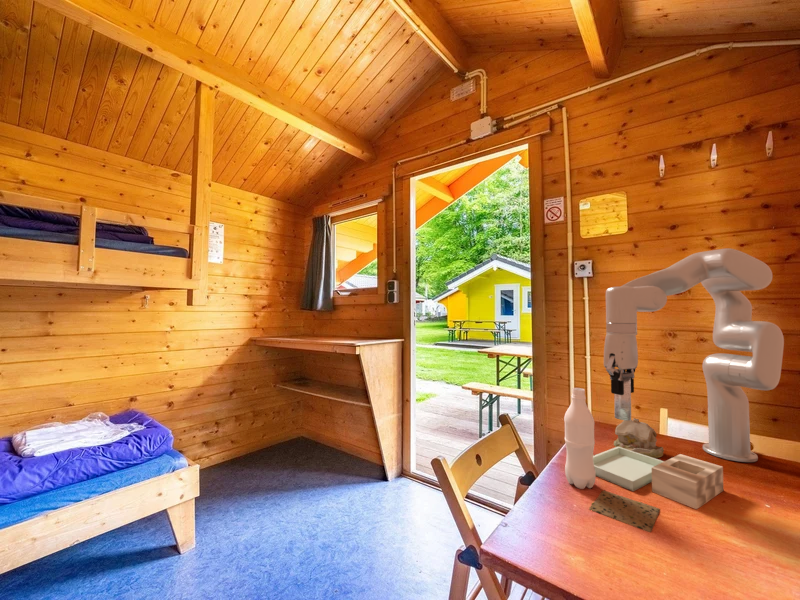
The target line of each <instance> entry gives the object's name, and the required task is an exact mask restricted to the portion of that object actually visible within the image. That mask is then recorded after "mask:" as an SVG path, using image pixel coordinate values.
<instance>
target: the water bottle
mask: <svg viewBox="0 0 800 600" xmlns="http://www.w3.org/2000/svg"><path fill="white" fill-rule="evenodd" d="M571 392H572V393H571V403H570V405H569V406H568V408H567V410H566V411H565V413H564V417H563V421H564V438H563V439H564V441H565V442H564V443H565V448H566V449H565V450H566V458H565V466H564V474H565V477H566V480H567V483H569V484H570V485H574V486H575V487H576V488H577V489H581V490H584V489H585V488H588V489H591V488H593V486H594V485H595V482H596V477H597V476H596V472H595V468H594V462H593V456H594V449H595V444H596V443H595V420H594V419H595V418H594V417H593V414H592V412H591V411H590V409H589V407H588V405H587V403H586V399H587V397H586V390H585V388H582V387H581V388H580V387H572V389H571Z"/></svg>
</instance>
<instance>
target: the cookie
mask: <svg viewBox="0 0 800 600" xmlns="http://www.w3.org/2000/svg"><path fill="white" fill-rule="evenodd" d="M588 510H589V511H591V510H592V511H591V512H594V513H597V514H599V515H602V516H605V517H608V518H610V519H612V520H615V521H618V522H621V523H623V524H626V525H629V526H632V527H635V528H637V529H640V530H641V531H645V532H646V533H647V532H648V533H652V531H653V528H654V526H655V524H656V521H657V519H658V517H659V515H660V512H661V509H660V508H659V507H656V506H653V505H650V504H647V503H643V502H641V501H637V500H634V499H632V498H628V497H625V496H623V495H619V494H616V493H613V492H610V491H606V490H602V491H601V492H600V493H599V495H598V497H597V498H596V499H595V500H594V501H593V502H591V505H590V506H589V508H588Z"/></svg>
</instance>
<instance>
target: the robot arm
mask: <svg viewBox="0 0 800 600" xmlns="http://www.w3.org/2000/svg"><path fill="white" fill-rule="evenodd" d="M772 281H773V272H772V270H771V267H770V266H769V265H768V264H766V263H765V262H764V261H762V260H760V259H758V258H756V257H754V256H752V255H750V254H748V253H746V252H743V251H741V250H738V249H735V248H731V247H730V248H729V247H728V248H720V249H712V250H707V251H705V250H704V251H699V252H695V253H692V254H690V255H688V256H686V257H684V258H683V259H681V260H679V261H677V262H675V263H673V264H672V265H670V266H669V267H666V268H663V269H661V270H657V271H653V272H652V273H650V274H647V275H643V276H641V277H637V278H635V279H632V280H631V281H628V282H626V283H624V284H622V285H621V286H612V287H608V288H607V289H606V290H605V333H606V335H605V338H604V344H603V345H604V347H603V367H604V368H605V371H606V373H608V375H609V380H610V392H611V394H613V395H614V394H618V395H624V381H622V376H623V371H625V372H631V373H634V374H635V373H636V369H637V367H638V363H639V352H638V341H637V335H638V313H639V312H640V313H652V312H657V311H660V310H662V309H663V308H664V307H665V306H666V304H667V301H668V297H667V296H674V295H677V294H681V293H684V292H686V291H688V290H690V289H691V288H693V287H695V286H696V285H699V284H700V283H701V285H702V287H703V288H704V289H705V290H706V291H707V293H709V295H710V296H711V298H712V299H713V302H714V306H715V312H714V313H715V315H714V322H713V328H712V342H713V343H714V345H715V346H716V347H717V348H720V349H723V350H729V351H737V352H747V353H748V352H749V353H752V356H750V355H741V354H732V353H723V352H722V353H720V352H718V353H713V354H709V355H707V356H706V357H705V358H704V359H703V362H702V366H701V367H702V371H703V372H702V373H703V376H704V379H705V383H706V385H705V386H706V391H707V392H706V393H707V421H708V424H707V425H708V442H706V443H703V444H702V450H703V451H704V452H706V453H707V454H710V455H712V456H714V457H717V458H720V459H724V460H728V461H733V462H738V463H740V462H741V463H756V462H757V461H758V460H759V457H758V454H756V453H755V452H753V451H751V431H750V430H751V429H750V427H751V426H750V403H749V398H748V396H747V394H746V392H745V391H744V390H743V388H748V389H752V390H758V391H759V390H760V391H770V390H771V391H772V390H774V389H775V388H777V386H778V385H779V382H780V379H781V373H782V365H783V356H784V348H785V347H784V346H785V345H784V344H785V339H784V338H785V337H784V335H783V332H782V330H781V328H780V327H779V326H778V325H777V324H775V323H774V322H770V321H764V320H763V321H761V320H752V317H753V315H752V313H753V306H752V303H751V301H750V300H749V299H748V297H746V295H744V294H743V293H742V292H743V291H745V292H746V291H758V290H763V289H765V288H767V287H768V286H770V284H771V282H772ZM637 312H638V313H637ZM615 371H619V374H618V373H617V372H615ZM634 392H635V375H634V378H631V394H634Z"/></svg>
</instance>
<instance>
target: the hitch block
mask: <svg viewBox="0 0 800 600" xmlns="http://www.w3.org/2000/svg"><path fill="white" fill-rule="evenodd" d="M663 461H664V462H662V463H660V464H658V465H656V466H654V467H652V482H651V491H652V493H653V494H654V493H655V494H657V495H659V496H662V497H664V498H667V499H670V500H671V501H674V502H677V503H679V504H682V505H685V506H687V507H689V508H693V509H695V510H698V509H699V508H700V507H702V506H703V505H705V504H707V503H708V502H709V501H711V500H713V499H714V498H715V497H717V496H718V495H719V494H720V493H722V492H723V491H724V466H722V465H718V464H715V463H712V462H708V461H704V460H701V459H698V458H695V457H691V456H688V455H685V454H681V453H679V454H677V455H675V456H674V457H673V456H672V457H671V458H669V459H667V460H663Z"/></svg>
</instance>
